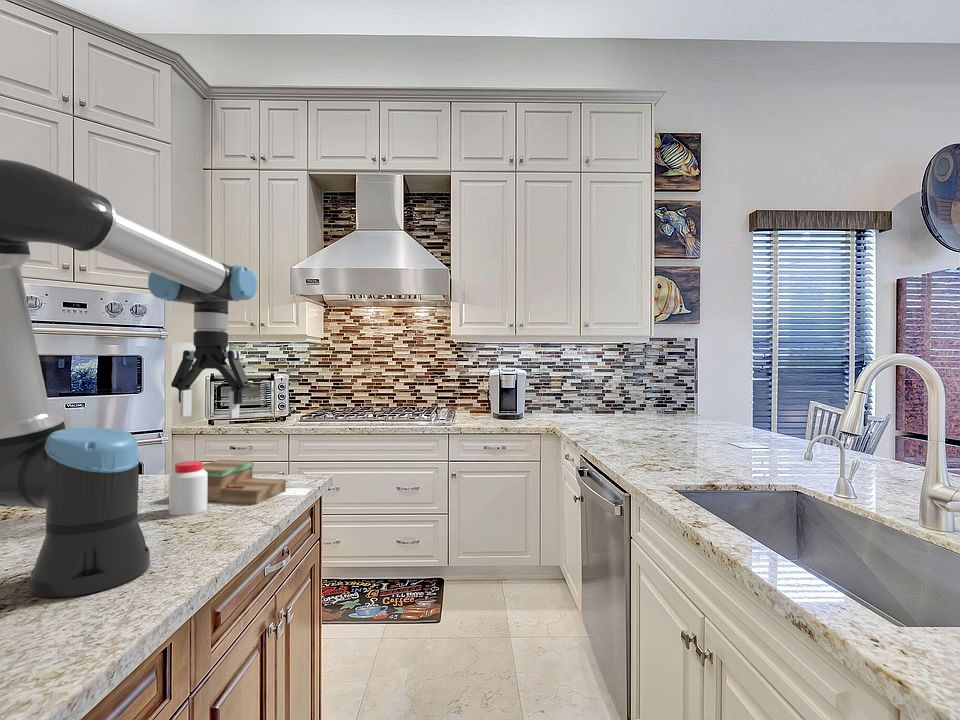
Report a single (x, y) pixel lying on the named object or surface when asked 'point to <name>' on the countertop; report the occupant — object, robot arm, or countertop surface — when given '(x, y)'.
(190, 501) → the pill bottle
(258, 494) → the stand
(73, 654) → the countertop surface
